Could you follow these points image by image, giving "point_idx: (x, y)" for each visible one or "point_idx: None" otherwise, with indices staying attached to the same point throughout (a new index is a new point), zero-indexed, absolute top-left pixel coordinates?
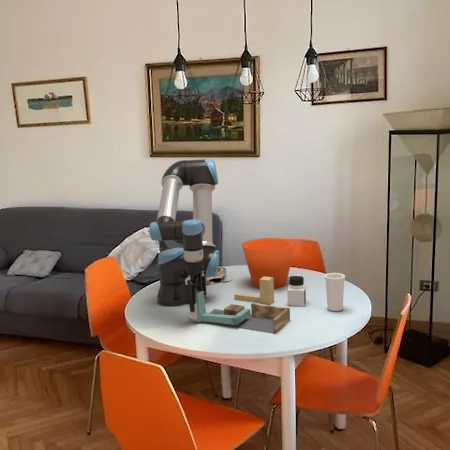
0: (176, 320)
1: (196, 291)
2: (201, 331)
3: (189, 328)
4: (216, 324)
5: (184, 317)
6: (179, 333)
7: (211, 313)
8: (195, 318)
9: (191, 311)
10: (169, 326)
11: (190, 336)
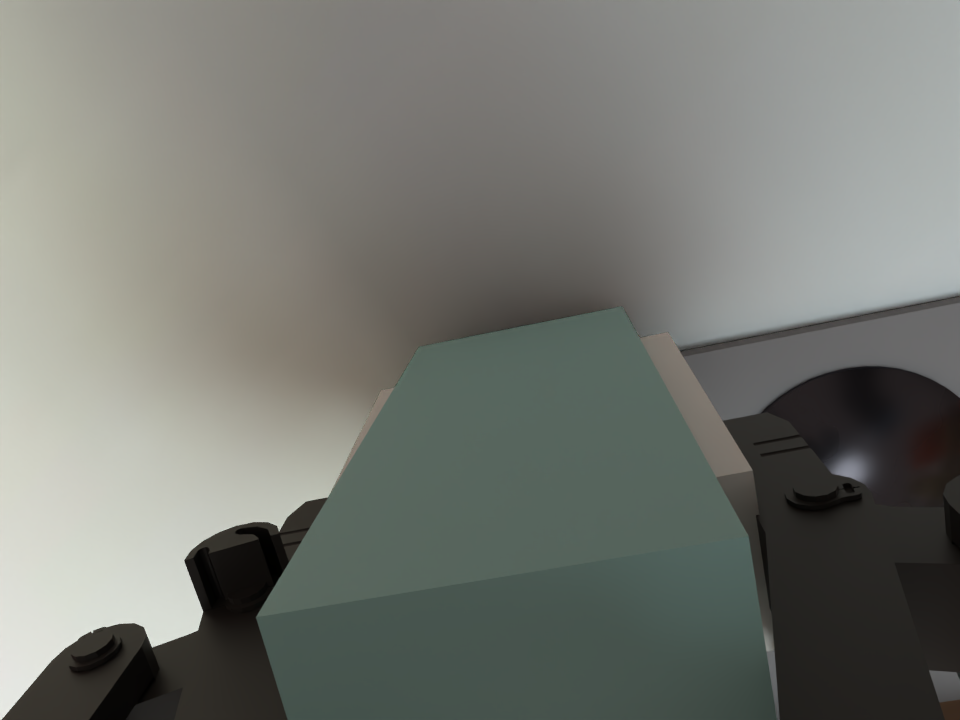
0: (347, 13)
1: (712, 700)
2: None
3: (247, 470)
4: None
5: (551, 28)
6: (24, 478)
7: (925, 383)
8: None
9: None
10: (78, 131)
11: None
